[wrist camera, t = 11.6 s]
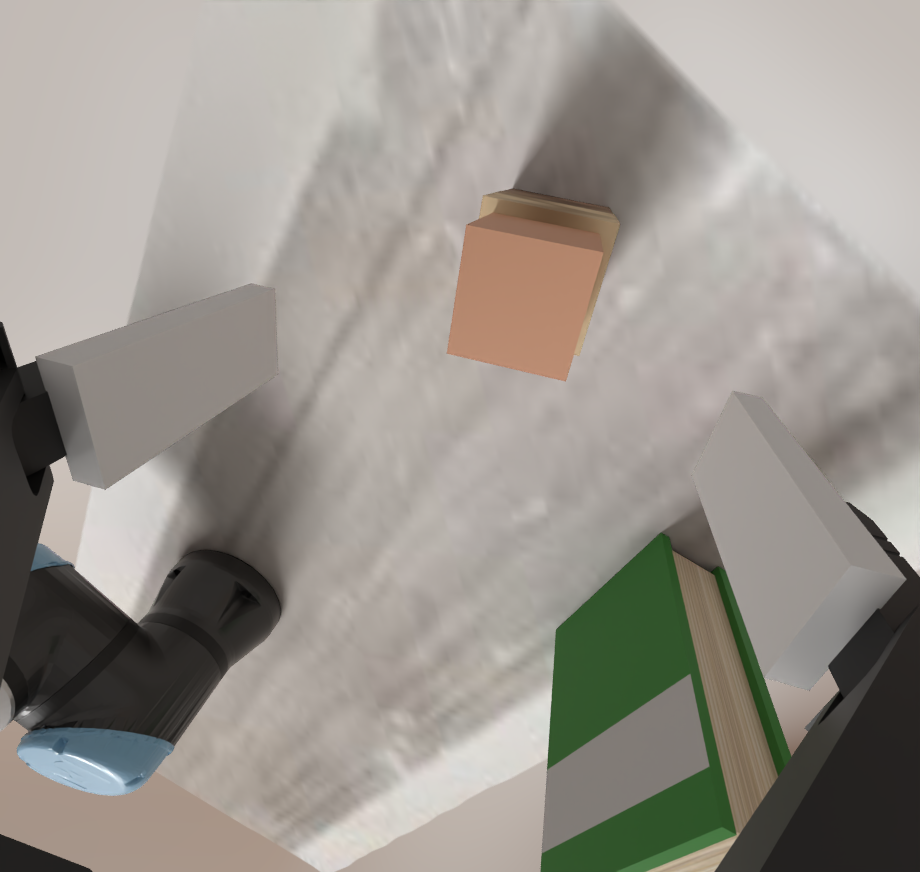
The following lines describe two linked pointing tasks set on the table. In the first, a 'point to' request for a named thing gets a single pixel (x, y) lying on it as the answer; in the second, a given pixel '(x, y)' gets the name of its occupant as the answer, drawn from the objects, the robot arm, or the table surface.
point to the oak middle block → (564, 217)
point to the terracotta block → (523, 293)
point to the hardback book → (656, 724)
